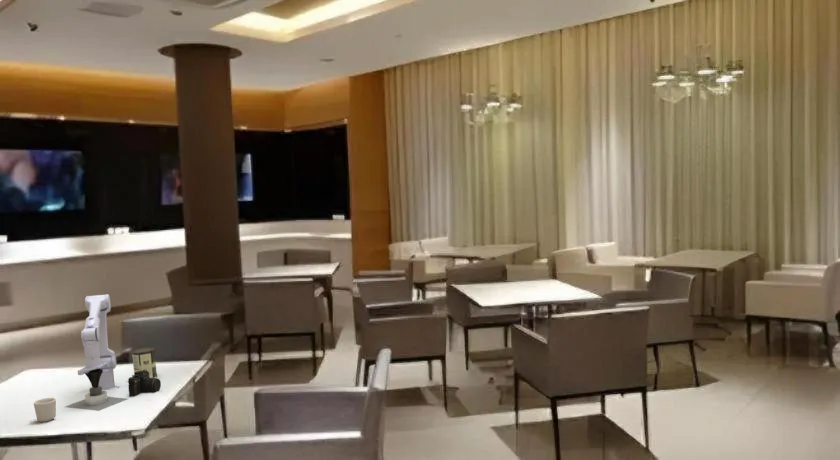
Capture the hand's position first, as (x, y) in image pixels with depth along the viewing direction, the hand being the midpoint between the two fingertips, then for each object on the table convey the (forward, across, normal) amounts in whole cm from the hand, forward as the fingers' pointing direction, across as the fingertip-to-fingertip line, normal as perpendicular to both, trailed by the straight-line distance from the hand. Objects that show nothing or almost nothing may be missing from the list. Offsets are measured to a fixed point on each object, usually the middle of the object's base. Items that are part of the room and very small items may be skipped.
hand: (95, 387), depth 303 cm
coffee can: (+8, +38, +10) cm, 40 cm away
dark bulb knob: (+6, 0, 0) cm, 6 cm away
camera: (+8, +18, -10) cm, 22 cm away
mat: (+8, 0, 0) cm, 8 cm away
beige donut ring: (+7, 0, 0) cm, 7 cm away
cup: (+8, -19, +6) cm, 21 cm away
